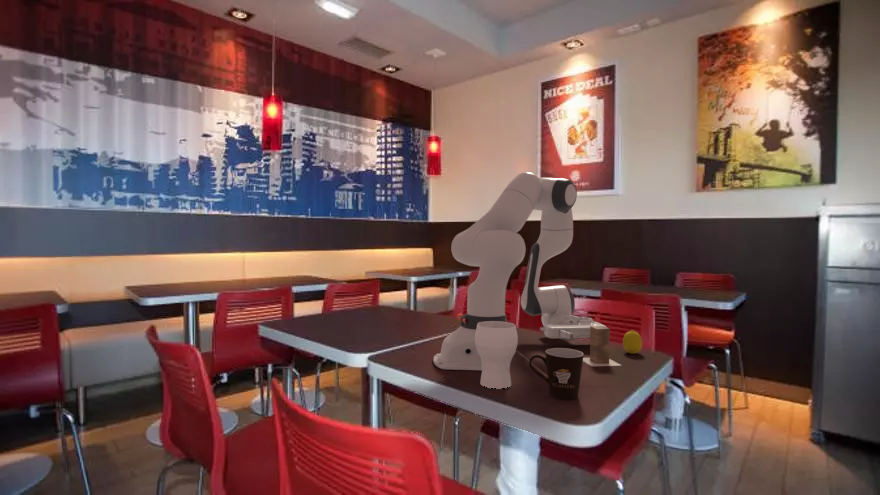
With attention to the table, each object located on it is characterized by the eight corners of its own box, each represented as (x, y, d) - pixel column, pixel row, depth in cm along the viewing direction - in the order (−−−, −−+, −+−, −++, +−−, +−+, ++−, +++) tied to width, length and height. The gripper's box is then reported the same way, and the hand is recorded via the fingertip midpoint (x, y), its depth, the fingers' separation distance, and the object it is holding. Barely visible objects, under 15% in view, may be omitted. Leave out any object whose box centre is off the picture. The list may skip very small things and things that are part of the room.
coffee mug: (589, 395, 103) (590, 352, 103) (571, 404, 97) (572, 359, 97) (545, 383, 111) (546, 344, 111) (526, 391, 105) (527, 350, 105)
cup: (524, 389, 107) (525, 327, 106) (482, 393, 104) (483, 329, 104) (507, 376, 117) (507, 319, 117) (469, 379, 115) (469, 321, 114)
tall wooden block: (596, 363, 128) (596, 328, 127) (589, 359, 132) (590, 326, 131) (609, 363, 128) (609, 328, 128) (602, 359, 132) (603, 326, 132)
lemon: (644, 357, 137) (645, 332, 137) (626, 357, 137) (627, 331, 137) (637, 353, 142) (637, 328, 142) (619, 352, 142) (620, 328, 142)
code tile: (591, 368, 125) (591, 366, 125) (578, 359, 134) (578, 357, 134) (621, 367, 126) (621, 365, 126) (606, 359, 135) (606, 356, 135)
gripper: (538, 318, 151) (553, 326, 137) (595, 317, 154) (615, 325, 140) (538, 336, 151) (553, 346, 137) (594, 335, 154) (615, 345, 140)
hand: (585, 336), depth 139 cm, fingers open, 8 cm apart
